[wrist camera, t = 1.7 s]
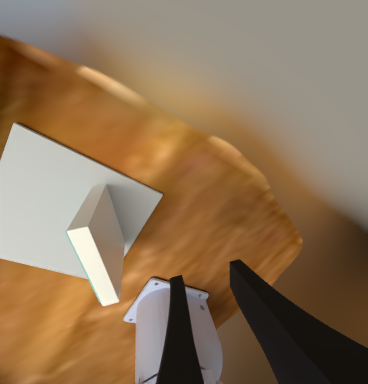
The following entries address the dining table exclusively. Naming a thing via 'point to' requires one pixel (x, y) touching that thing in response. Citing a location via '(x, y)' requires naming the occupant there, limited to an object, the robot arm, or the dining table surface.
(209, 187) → the dining table surface
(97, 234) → the tile
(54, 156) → the felt pad
